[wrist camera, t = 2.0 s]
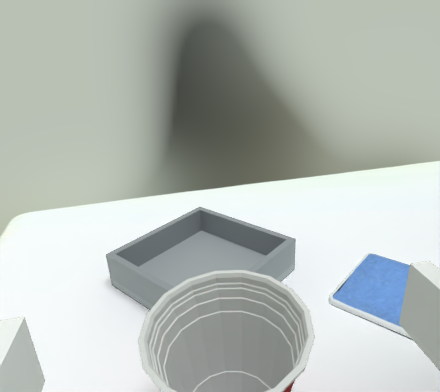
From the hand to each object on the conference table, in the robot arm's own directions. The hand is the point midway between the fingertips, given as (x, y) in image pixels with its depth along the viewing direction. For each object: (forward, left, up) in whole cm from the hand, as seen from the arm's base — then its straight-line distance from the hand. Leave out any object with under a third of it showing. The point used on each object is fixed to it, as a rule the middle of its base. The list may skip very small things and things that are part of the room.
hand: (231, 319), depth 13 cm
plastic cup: (-6, -5, -19) cm, 21 cm away
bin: (-20, -21, -19) cm, 35 cm away
